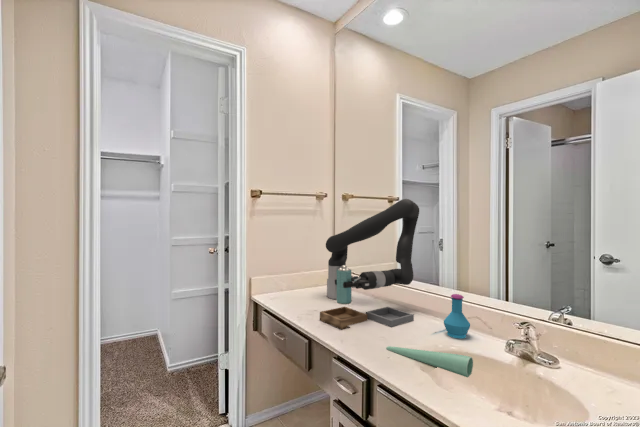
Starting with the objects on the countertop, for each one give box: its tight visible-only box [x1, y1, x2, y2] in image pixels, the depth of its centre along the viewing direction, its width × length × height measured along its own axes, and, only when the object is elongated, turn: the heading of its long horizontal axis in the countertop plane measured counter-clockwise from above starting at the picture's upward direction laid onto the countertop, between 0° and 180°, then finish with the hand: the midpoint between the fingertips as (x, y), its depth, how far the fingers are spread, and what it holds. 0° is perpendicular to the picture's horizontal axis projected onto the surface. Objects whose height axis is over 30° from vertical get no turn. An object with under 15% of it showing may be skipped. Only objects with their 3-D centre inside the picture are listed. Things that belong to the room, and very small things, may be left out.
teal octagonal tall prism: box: [336, 265, 353, 305], centre depth 138 cm, size 6×6×16 cm
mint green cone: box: [385, 345, 474, 378], centre depth 102 cm, size 5×6×27 cm
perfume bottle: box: [443, 293, 471, 339], centre depth 125 cm, size 9×9×15 cm
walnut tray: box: [319, 306, 368, 331], centre depth 138 cm, size 14×14×4 cm
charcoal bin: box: [365, 306, 415, 328], centre depth 139 cm, size 14×14×4 cm
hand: (339, 283), depth 137 cm, fingers closed on teal octagonal tall prism, 6 cm apart
